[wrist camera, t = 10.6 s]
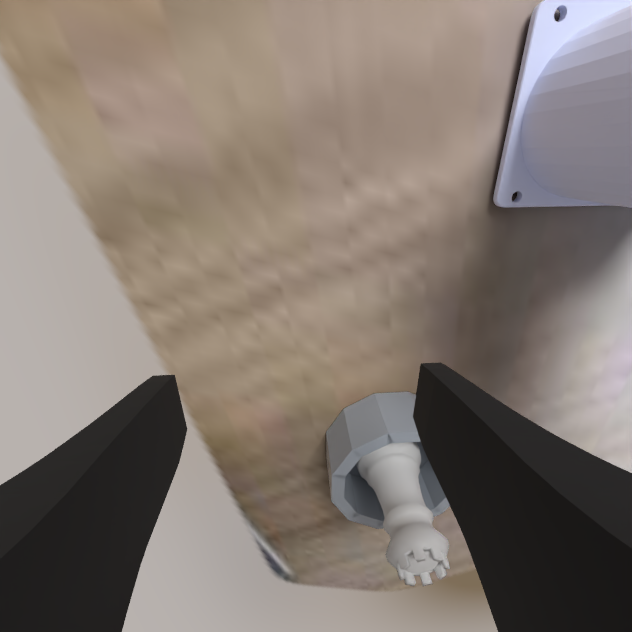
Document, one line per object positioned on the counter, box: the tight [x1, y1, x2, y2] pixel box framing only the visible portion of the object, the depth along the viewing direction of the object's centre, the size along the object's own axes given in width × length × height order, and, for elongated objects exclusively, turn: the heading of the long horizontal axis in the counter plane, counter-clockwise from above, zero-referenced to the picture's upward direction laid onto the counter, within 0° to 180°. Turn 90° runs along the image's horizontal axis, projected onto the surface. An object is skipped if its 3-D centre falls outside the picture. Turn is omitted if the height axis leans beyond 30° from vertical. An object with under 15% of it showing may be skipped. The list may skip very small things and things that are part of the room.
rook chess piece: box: [356, 442, 450, 586], centre depth 20 cm, size 4×4×8 cm
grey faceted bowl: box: [326, 392, 450, 529], centre depth 22 cm, size 9×9×4 cm
